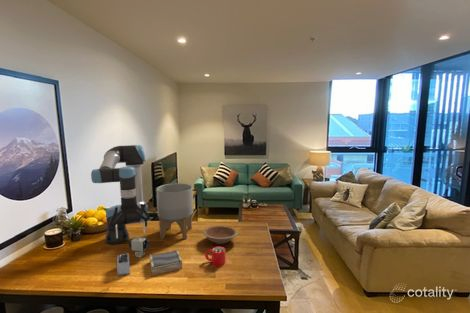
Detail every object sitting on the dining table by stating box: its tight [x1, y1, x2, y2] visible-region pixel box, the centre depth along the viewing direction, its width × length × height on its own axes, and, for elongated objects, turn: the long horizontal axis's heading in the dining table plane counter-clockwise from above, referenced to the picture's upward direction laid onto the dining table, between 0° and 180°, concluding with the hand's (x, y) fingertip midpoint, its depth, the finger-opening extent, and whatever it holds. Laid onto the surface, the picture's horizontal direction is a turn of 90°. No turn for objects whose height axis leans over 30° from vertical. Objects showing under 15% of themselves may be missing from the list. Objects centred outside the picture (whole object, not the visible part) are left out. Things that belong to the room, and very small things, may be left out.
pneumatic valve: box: [128, 236, 151, 258], centre depth 158 cm, size 6×12×12 cm, turn 78°
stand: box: [149, 248, 183, 276], centre depth 148 cm, size 14×16×5 cm
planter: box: [156, 182, 194, 240], centre depth 187 cm, size 25×25×34 cm
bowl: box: [202, 224, 239, 245], centre depth 176 cm, size 24×24×8 cm
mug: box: [204, 246, 226, 267], centre depth 151 cm, size 8×12×8 cm, turn 86°
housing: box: [116, 252, 131, 277], centre depth 143 cm, size 10×6×7 cm, turn 23°
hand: (131, 234), depth 139 cm, fingers open, 13 cm apart
